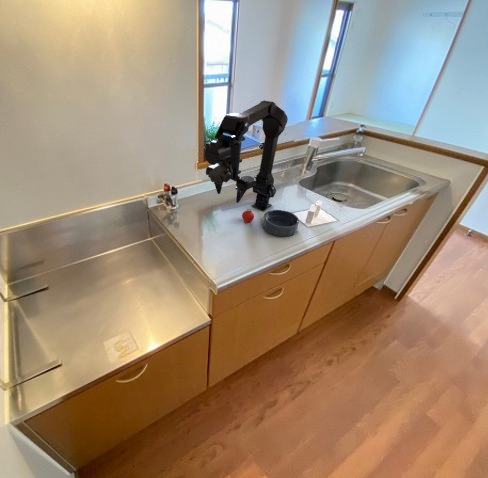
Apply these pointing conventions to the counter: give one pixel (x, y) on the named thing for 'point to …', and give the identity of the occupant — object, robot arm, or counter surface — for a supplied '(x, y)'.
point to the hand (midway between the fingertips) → (228, 198)
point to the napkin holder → (314, 215)
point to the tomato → (248, 215)
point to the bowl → (280, 222)
